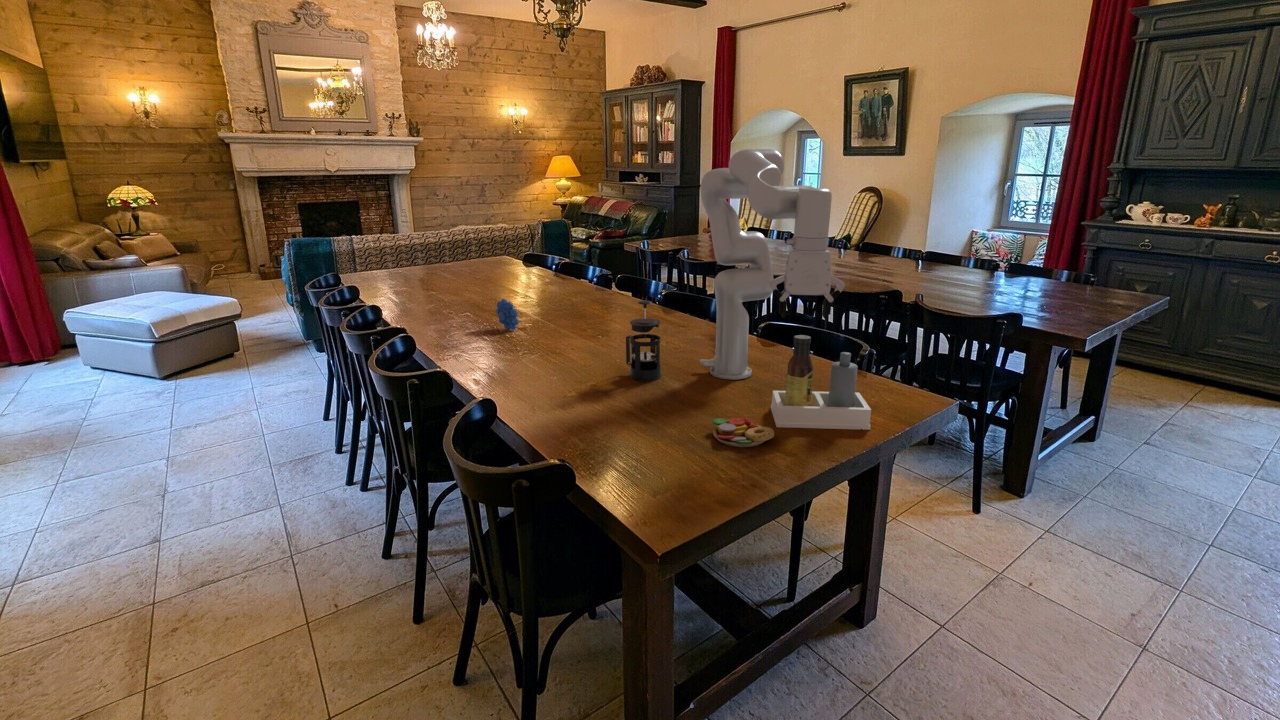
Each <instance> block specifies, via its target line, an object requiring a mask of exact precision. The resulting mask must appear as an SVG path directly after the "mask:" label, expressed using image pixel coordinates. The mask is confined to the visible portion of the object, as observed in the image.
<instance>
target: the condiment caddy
mask: <svg viewBox="0 0 1280 720" xmlns="http://www.w3.org/2000/svg"><path fill="white" fill-rule="evenodd" d="M839 356H840V357H839V361H835V362H834V361H833V362H832V363H831V368H830V379H829V389H828V391H813V390H812V398H811V406H785V398H786V390H772V395H771V396H772V398H771V404H770V411H771V414H772V417H773V421H774V423H775V427H776V428H787V429H788V428H793V429H797V428H798V429H800V428H801V429H824V430H825V429H827V430H828V429H830V430H831V429H835V430H861V429H862V431H863V430H864V431H865V430H867V431H870V430H871V429H872V428H871V415H872V414H871V413H872V408H871V407H870V406H869V405H868V403H867V401H866V400H865V398H864V397H863V395H861V393H860V392H856V388H857V387H856V386H857V377H858V368H859V366H858V365H857V364H855V363H854V362H851V357H852V353H851V352H848V351H847V352H846V351H842V352H840V353H839Z"/></svg>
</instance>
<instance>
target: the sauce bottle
mask: <svg viewBox="0 0 1280 720" xmlns="http://www.w3.org/2000/svg"><path fill="white" fill-rule="evenodd" d="M811 343H812V336H809V335H805V334H798V335H794V336H793V350H792V353H793V355H792V356H791V358H790V359H789V361H788V363H787V373H786V383H785V385H786V386H785V391H786V398H785V406H811V398H812V391H813V385H814V384H813V382H814V371H815V368H814V365H813V361H812V359H811V358H812V357H811V355H810V353H811V352H810V348H811Z"/></svg>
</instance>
